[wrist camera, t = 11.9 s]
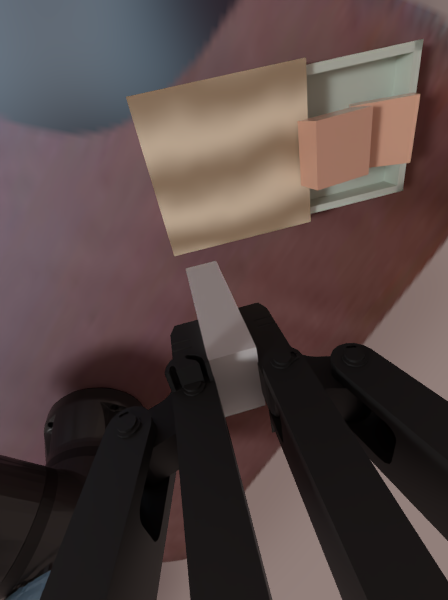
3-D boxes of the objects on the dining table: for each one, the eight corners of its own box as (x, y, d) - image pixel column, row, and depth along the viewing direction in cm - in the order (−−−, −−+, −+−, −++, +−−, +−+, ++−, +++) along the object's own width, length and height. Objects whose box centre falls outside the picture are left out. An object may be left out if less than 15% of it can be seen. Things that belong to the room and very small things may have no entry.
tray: (386, 185, 39) (402, 190, 36) (296, 208, 38) (306, 214, 35) (401, 44, 31) (423, 38, 28) (289, 69, 30) (301, 65, 28)
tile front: (348, 170, 33) (368, 174, 31) (301, 185, 32) (317, 190, 30) (350, 107, 30) (373, 105, 28) (297, 121, 29) (316, 121, 27)
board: (296, 211, 38) (310, 221, 35) (172, 243, 37) (174, 256, 34) (289, 63, 30) (306, 57, 27) (129, 98, 29) (126, 96, 26)
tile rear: (347, 170, 33) (346, 163, 36) (410, 162, 32) (404, 156, 34) (350, 106, 30) (348, 104, 32) (420, 93, 28) (413, 92, 31)
